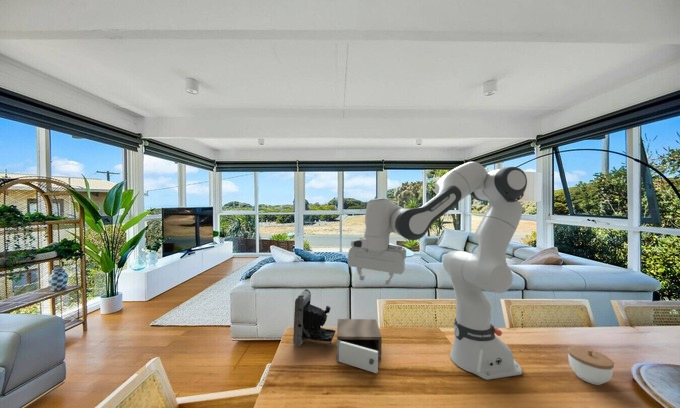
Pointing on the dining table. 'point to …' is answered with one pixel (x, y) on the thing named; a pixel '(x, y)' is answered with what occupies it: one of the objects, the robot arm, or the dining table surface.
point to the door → (357, 356)
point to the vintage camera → (310, 321)
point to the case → (360, 333)
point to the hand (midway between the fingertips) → (374, 282)
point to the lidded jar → (590, 365)
